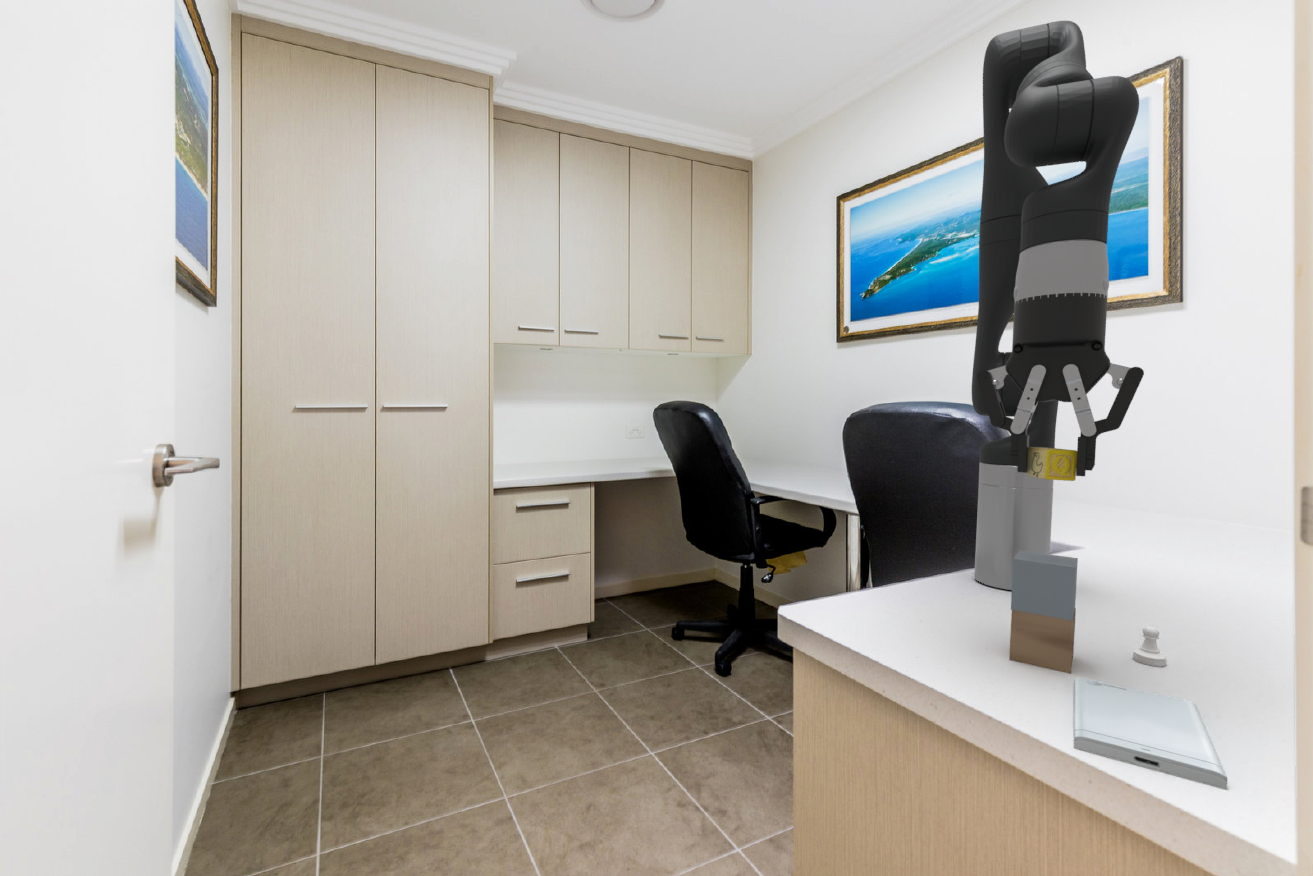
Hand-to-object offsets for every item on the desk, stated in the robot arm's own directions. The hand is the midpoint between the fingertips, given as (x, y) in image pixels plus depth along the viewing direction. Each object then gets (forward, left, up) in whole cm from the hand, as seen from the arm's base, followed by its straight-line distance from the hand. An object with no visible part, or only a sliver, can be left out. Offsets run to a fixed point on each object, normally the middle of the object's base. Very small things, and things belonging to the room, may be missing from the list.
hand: (1050, 472), depth 60 cm
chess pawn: (-6, +9, -19) cm, 21 cm away
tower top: (0, 0, -13) cm, 13 cm away
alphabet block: (0, 0, -1) cm, 1 cm away
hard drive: (+12, +7, -19) cm, 24 cm away
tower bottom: (0, 0, -18) cm, 18 cm away
